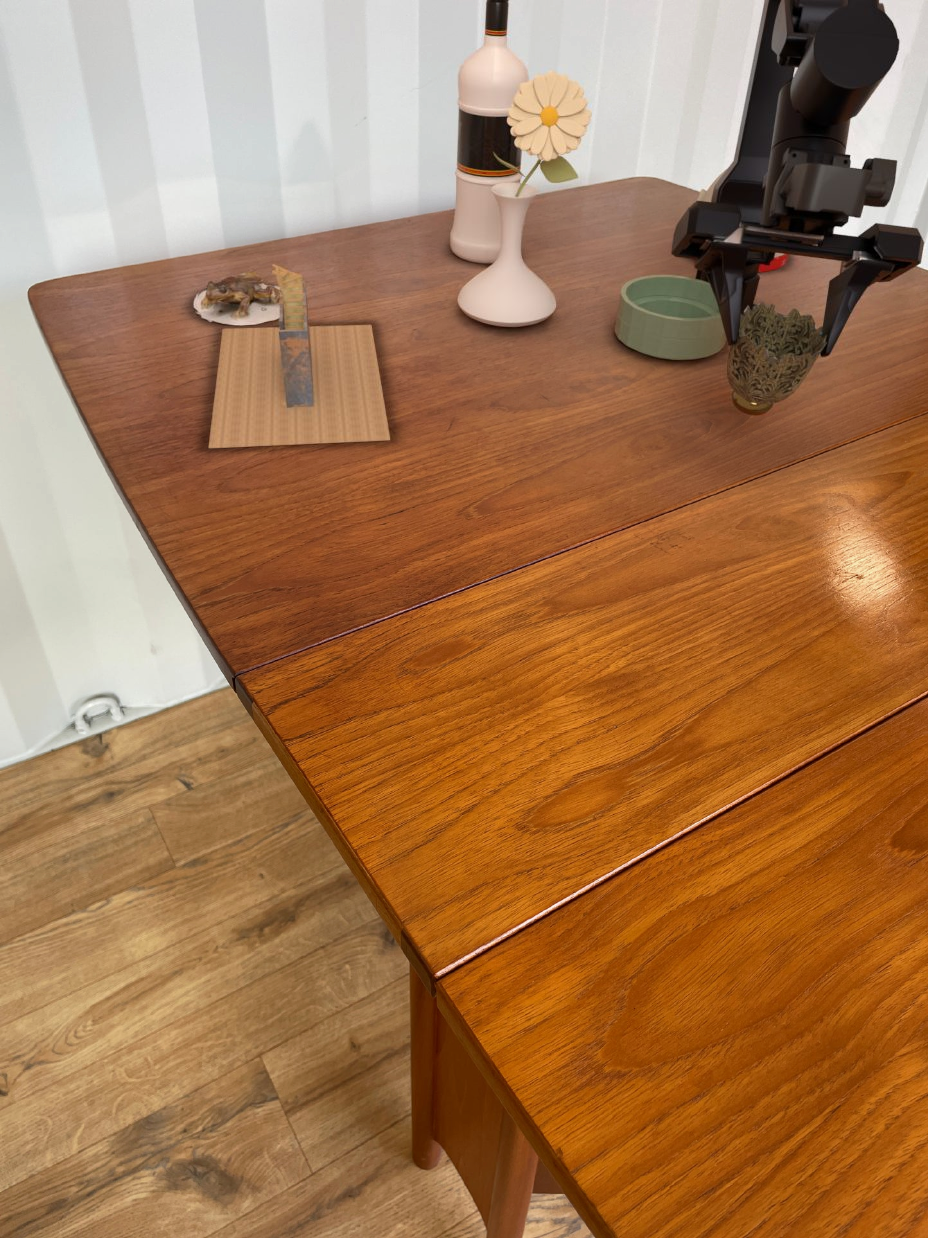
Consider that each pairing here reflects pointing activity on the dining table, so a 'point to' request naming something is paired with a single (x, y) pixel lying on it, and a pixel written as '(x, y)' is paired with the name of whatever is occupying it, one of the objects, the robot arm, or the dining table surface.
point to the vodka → (485, 139)
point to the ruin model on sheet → (297, 380)
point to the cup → (771, 357)
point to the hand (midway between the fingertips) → (778, 350)
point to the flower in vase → (528, 201)
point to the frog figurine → (239, 301)
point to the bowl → (670, 317)
